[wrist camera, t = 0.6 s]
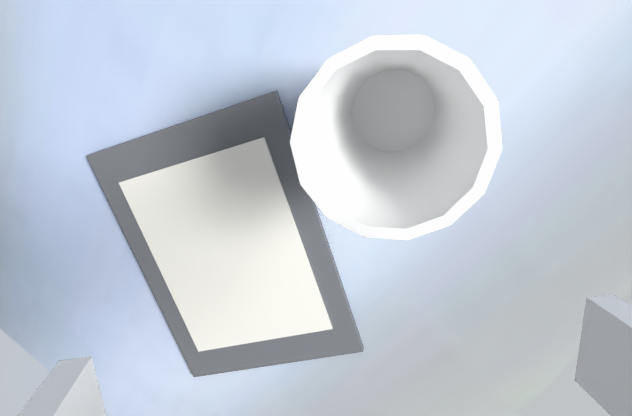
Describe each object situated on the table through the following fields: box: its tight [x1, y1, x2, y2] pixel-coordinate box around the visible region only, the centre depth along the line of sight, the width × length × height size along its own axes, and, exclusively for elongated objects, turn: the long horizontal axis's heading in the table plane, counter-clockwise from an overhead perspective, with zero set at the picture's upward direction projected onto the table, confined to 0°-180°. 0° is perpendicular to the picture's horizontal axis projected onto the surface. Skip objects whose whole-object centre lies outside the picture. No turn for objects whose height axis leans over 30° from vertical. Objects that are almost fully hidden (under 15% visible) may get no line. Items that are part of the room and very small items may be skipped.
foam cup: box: [290, 35, 503, 240], centre depth 25 cm, size 10×9×13 cm
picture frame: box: [86, 91, 364, 377], centre depth 37 cm, size 24×18×1 cm
